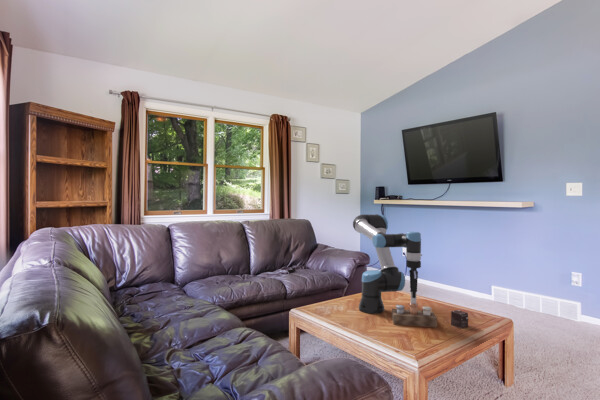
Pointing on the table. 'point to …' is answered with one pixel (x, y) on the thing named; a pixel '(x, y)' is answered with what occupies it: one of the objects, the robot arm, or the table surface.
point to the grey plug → (400, 309)
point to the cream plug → (426, 310)
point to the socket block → (414, 318)
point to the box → (459, 319)
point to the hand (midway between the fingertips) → (413, 303)
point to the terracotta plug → (413, 308)
